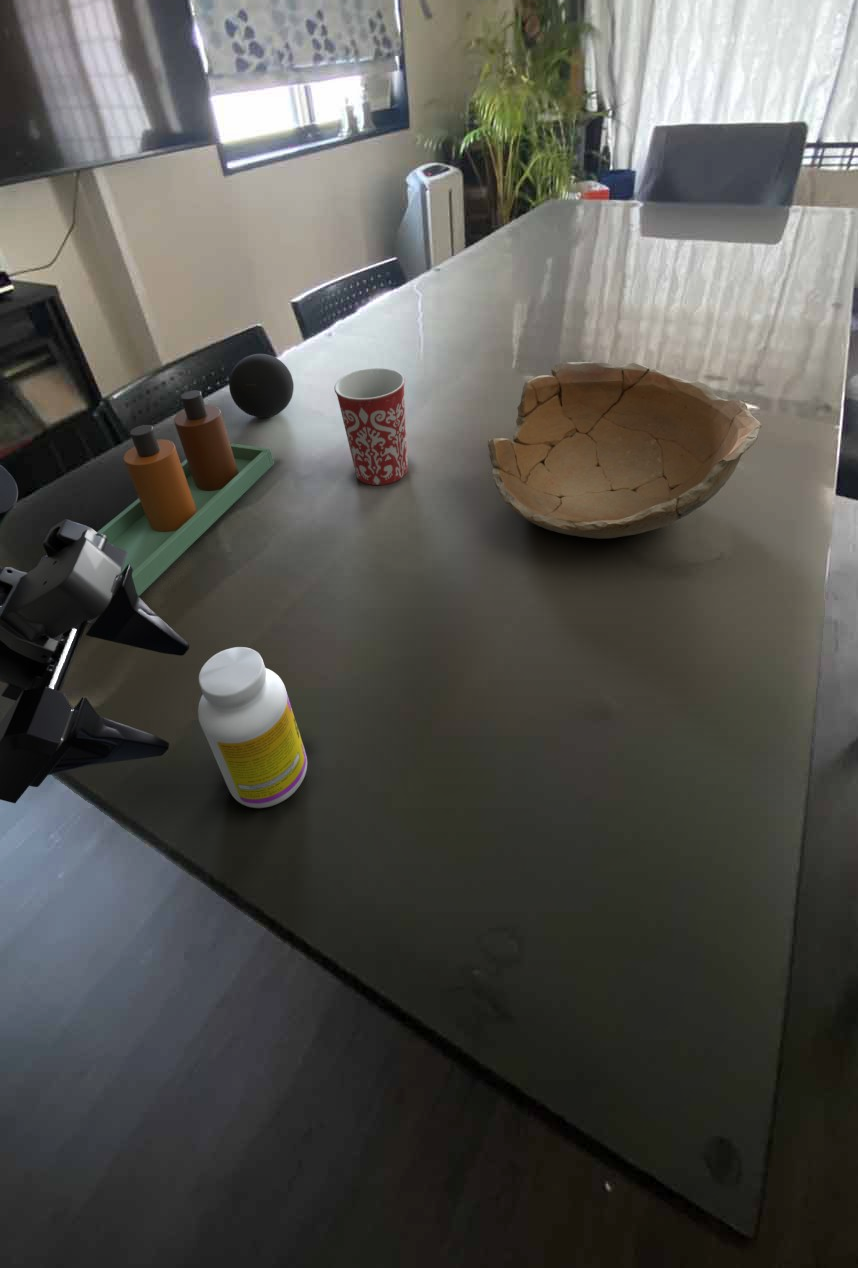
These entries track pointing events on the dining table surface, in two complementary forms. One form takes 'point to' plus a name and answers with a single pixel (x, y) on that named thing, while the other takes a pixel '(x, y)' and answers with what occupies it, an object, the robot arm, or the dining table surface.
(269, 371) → the speaker
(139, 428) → the amber bottle
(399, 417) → the mug
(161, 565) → the tray
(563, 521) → the ceramic bowl
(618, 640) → the dining table surface
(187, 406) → the dark amber bottle
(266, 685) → the supplement bottle
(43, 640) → the robot arm
